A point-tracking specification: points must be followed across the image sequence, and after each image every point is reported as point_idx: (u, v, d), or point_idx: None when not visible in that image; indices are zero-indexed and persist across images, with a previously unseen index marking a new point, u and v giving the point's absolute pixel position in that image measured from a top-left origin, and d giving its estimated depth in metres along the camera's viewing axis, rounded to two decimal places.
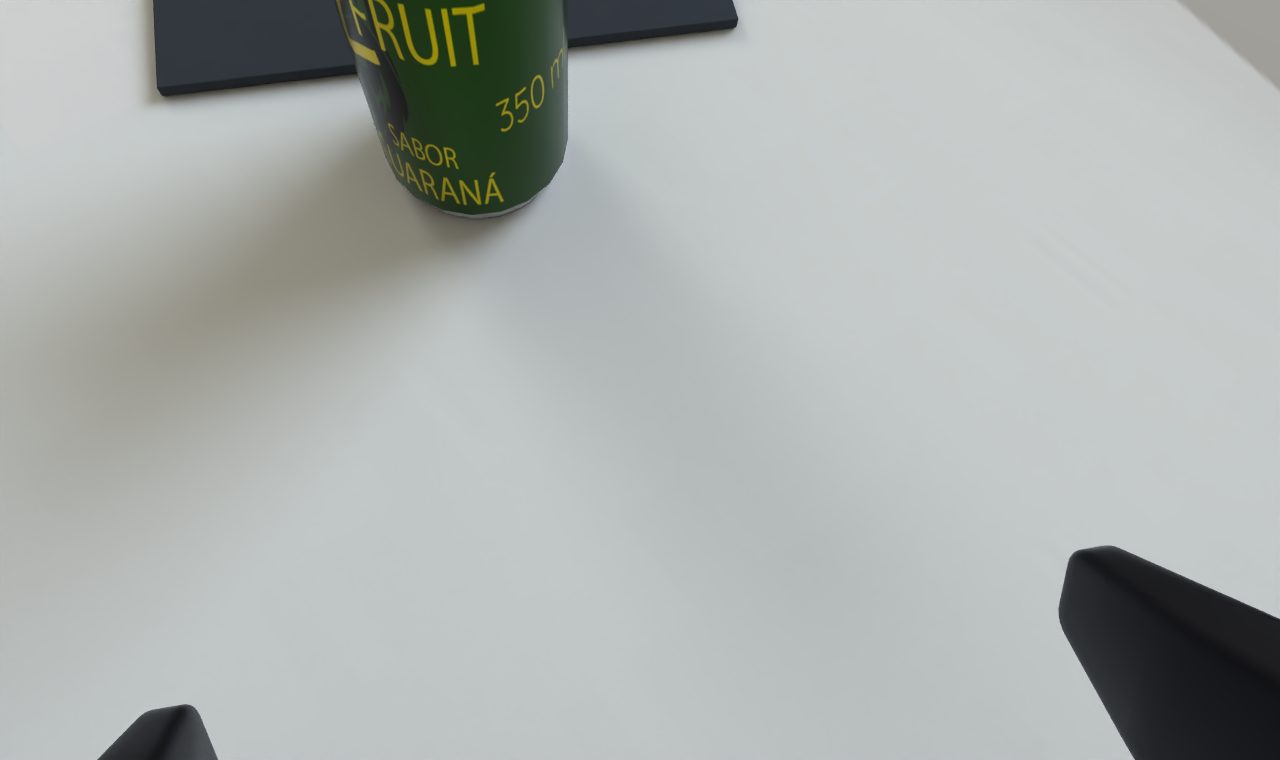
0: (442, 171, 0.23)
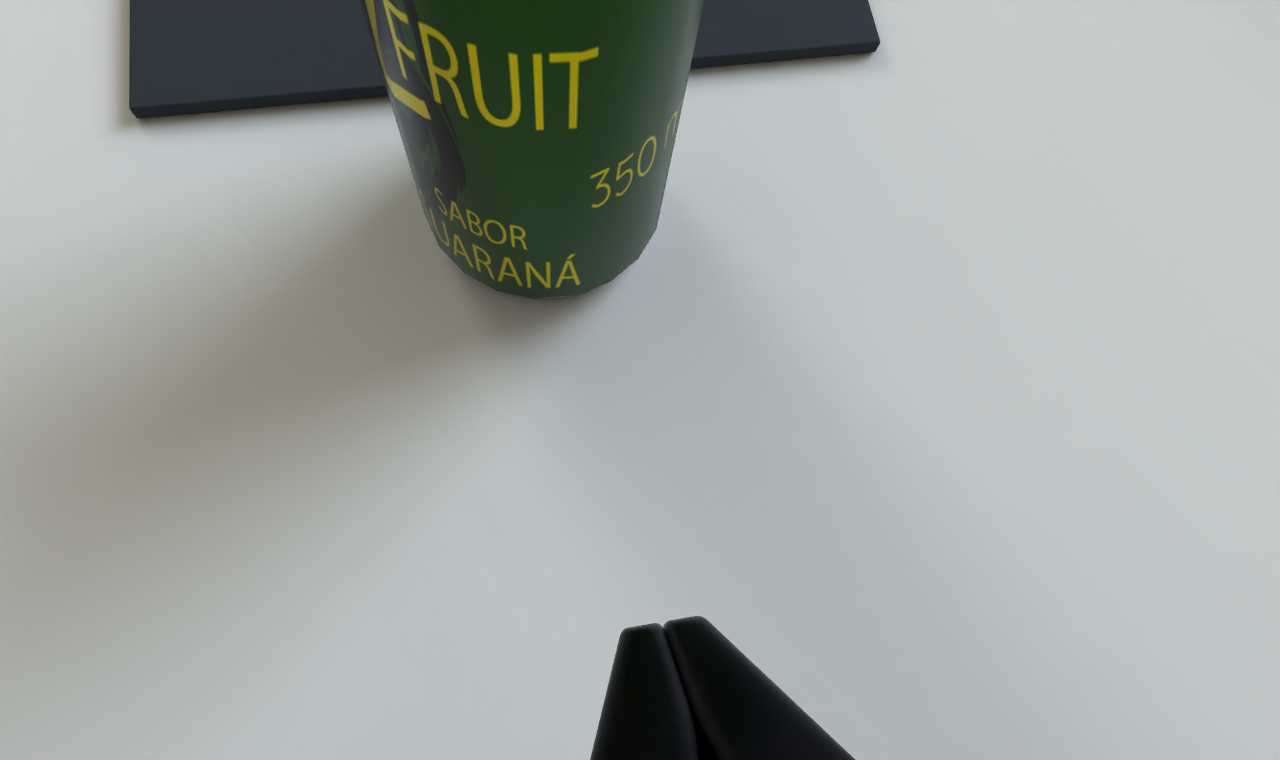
0: (504, 250, 0.17)
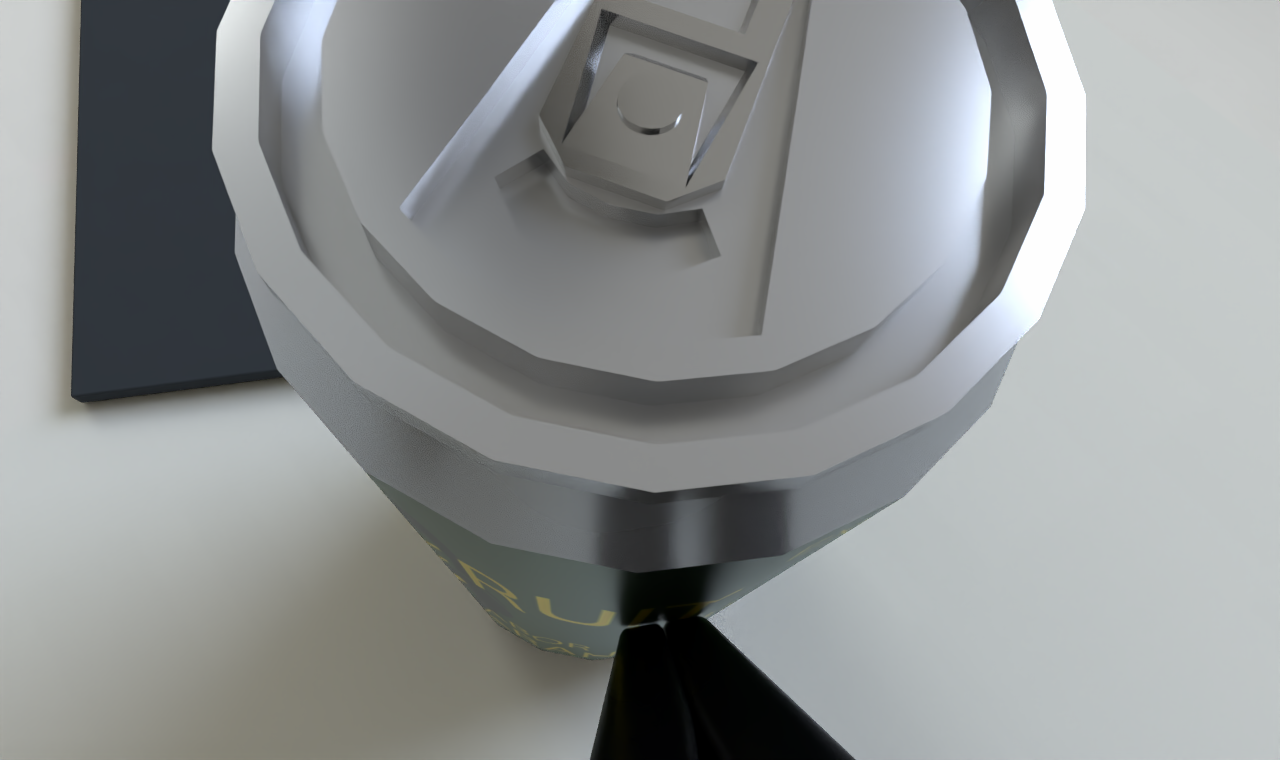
0: (557, 645, 0.13)
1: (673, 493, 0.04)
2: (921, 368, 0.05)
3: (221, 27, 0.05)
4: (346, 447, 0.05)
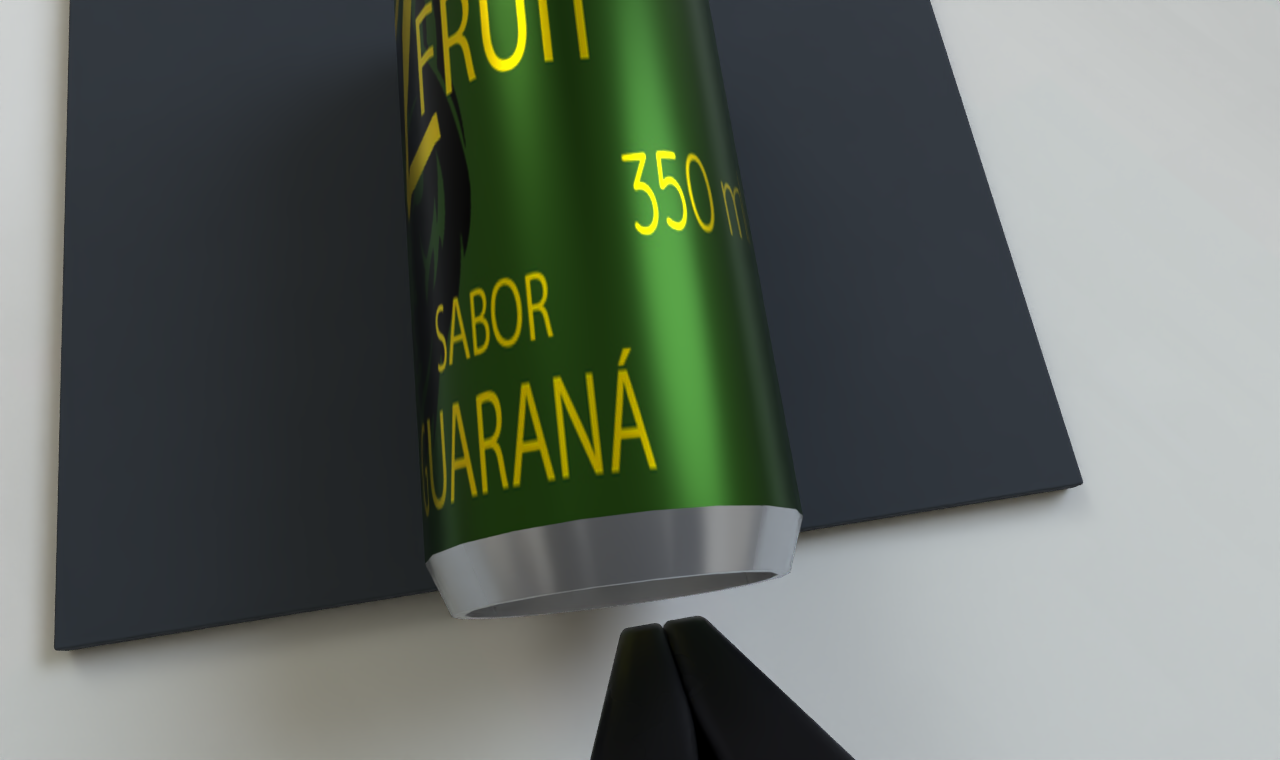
0: (520, 361, 0.11)
1: None
2: None
3: None
4: None
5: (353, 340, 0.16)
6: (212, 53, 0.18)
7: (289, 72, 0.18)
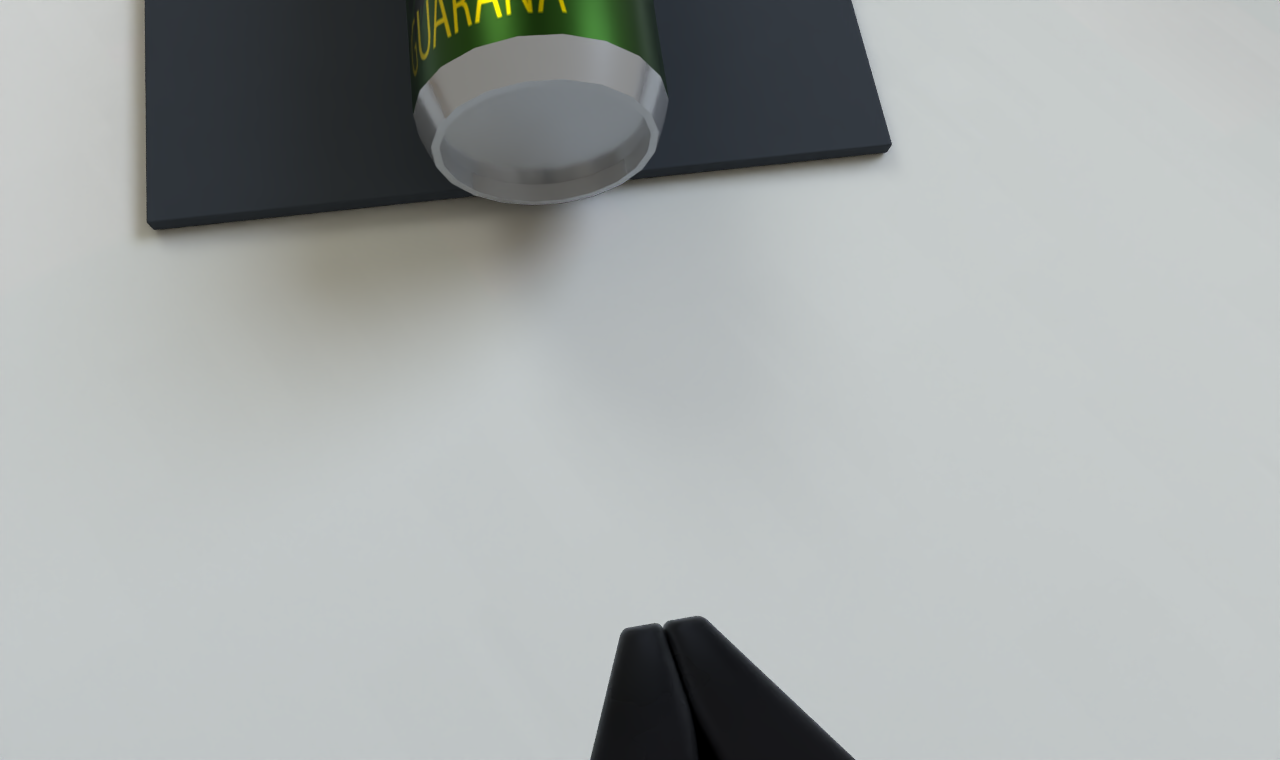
0: None
1: None
2: None
3: None
4: None
5: (356, 33, 0.22)
6: None
7: None
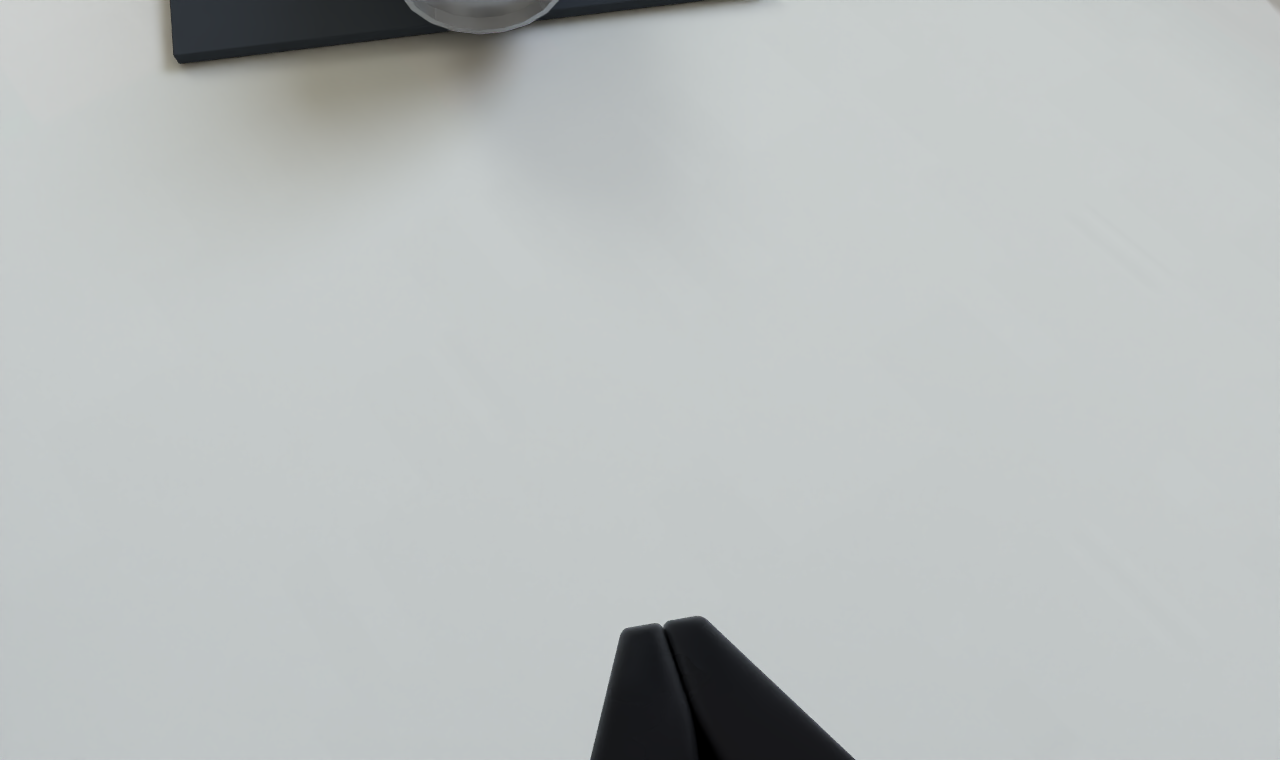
0: None
1: None
2: None
3: None
4: None
5: None
6: None
7: None
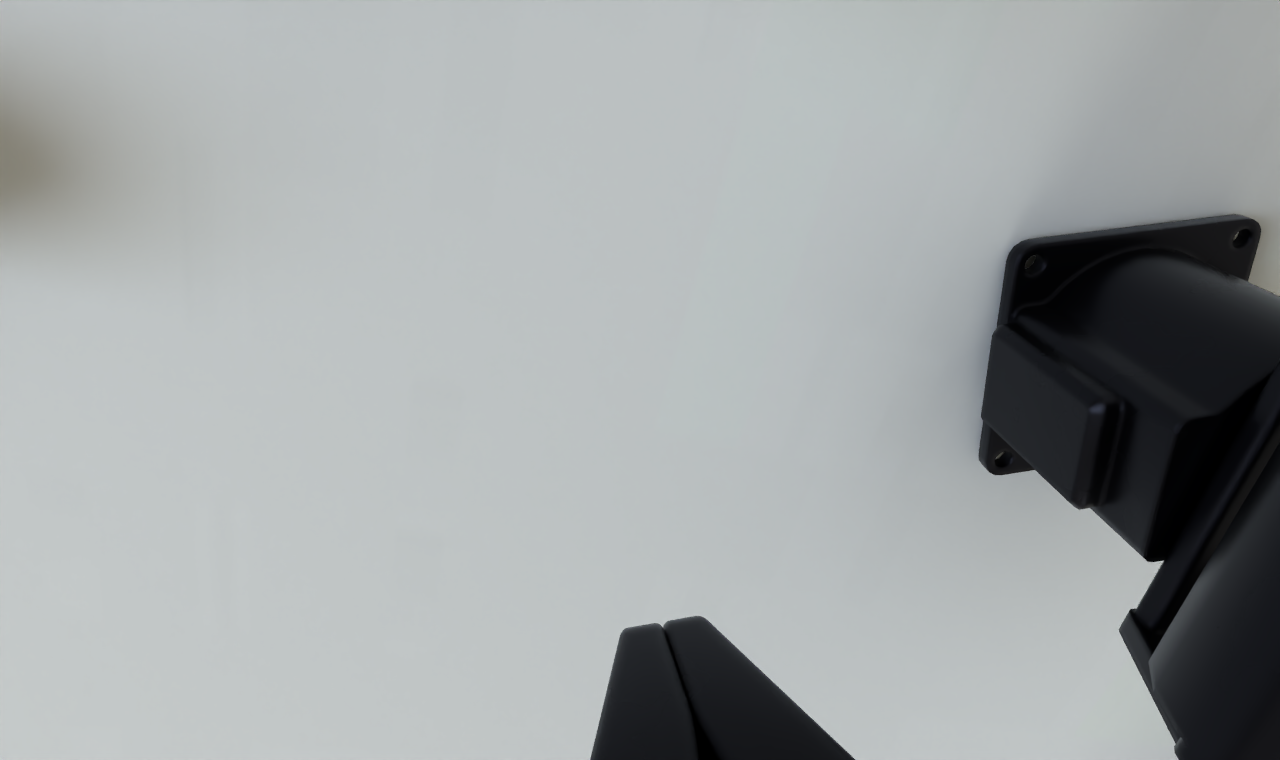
0: None
1: None
2: None
3: None
4: None
5: None
6: None
7: None
